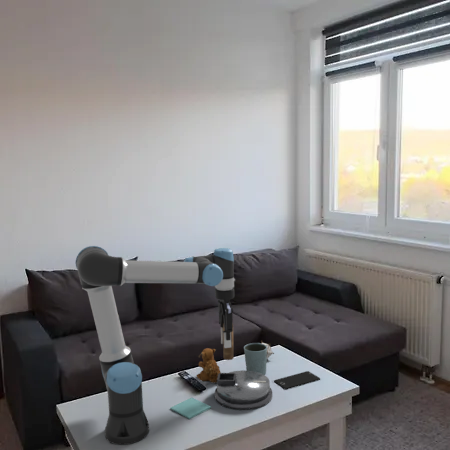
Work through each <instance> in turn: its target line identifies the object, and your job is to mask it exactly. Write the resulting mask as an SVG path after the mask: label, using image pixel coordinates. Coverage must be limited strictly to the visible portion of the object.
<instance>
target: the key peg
mask: <svg viewBox="0 0 450 450" xmlns="http://www.w3.org/2000/svg"><path fill="white" fill-rule="evenodd" d="M223 331H225V329H224V323H223ZM222 347H223V353H222V355H223V360H226V361H231V360H233V359H234V331H233V332H231V347H230V348H224V333H223V344H222Z"/></svg>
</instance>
